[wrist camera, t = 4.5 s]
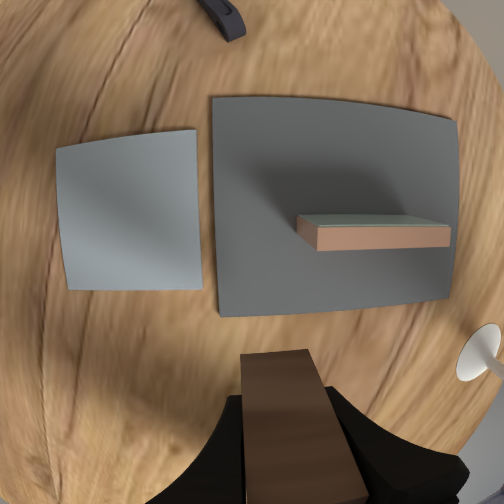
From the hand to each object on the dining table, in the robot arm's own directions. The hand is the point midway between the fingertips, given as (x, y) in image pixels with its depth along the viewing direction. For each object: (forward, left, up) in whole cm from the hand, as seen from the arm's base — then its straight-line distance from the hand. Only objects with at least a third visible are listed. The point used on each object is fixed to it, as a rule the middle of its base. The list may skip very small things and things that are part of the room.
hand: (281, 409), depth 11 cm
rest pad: (+7, +9, -9) cm, 15 cm away
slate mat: (+7, -6, -9) cm, 13 cm away
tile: (+6, -6, -9) cm, 13 cm away
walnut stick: (0, 0, -2) cm, 2 cm away
